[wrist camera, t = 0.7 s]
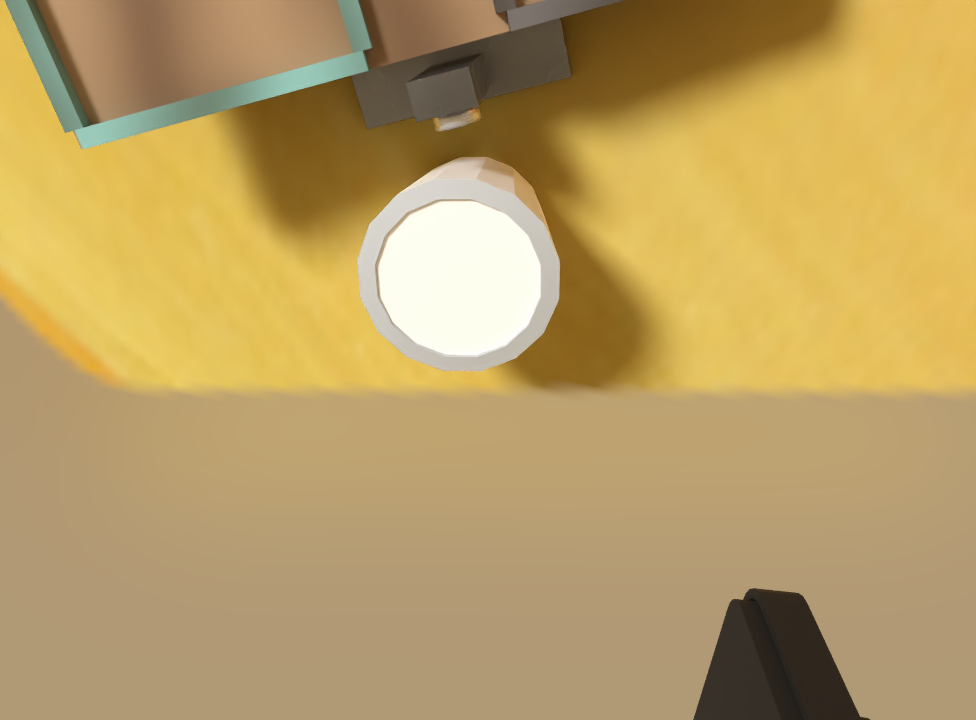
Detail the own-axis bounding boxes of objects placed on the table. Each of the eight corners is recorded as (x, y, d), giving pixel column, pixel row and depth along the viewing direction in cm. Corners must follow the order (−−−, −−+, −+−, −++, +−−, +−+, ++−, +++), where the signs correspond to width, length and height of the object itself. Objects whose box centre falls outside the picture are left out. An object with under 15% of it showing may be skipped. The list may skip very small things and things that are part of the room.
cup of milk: (540, 316, 34) (538, 390, 28) (383, 286, 34) (346, 354, 28) (575, 158, 31) (582, 201, 25) (404, 124, 31) (367, 159, 25)
